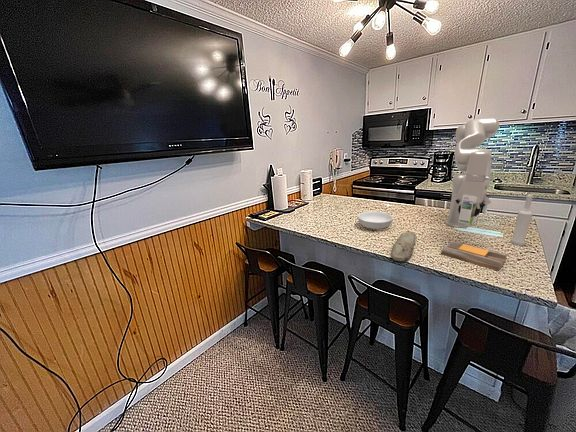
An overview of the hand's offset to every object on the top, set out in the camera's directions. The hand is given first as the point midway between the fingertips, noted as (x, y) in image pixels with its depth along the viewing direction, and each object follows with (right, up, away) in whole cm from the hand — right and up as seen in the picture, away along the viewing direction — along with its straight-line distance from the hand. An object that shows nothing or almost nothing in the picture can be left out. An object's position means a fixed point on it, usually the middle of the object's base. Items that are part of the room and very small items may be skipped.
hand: (468, 214), depth 121 cm
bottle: (+27, -15, +3) cm, 32 cm away
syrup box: (0, -4, +2) cm, 5 cm away
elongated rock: (-28, -18, +6) cm, 34 cm away
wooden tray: (-3, -20, -7) cm, 22 cm away
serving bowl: (-34, -8, +36) cm, 50 cm away
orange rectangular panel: (-4, -17, -8) cm, 19 cm away
